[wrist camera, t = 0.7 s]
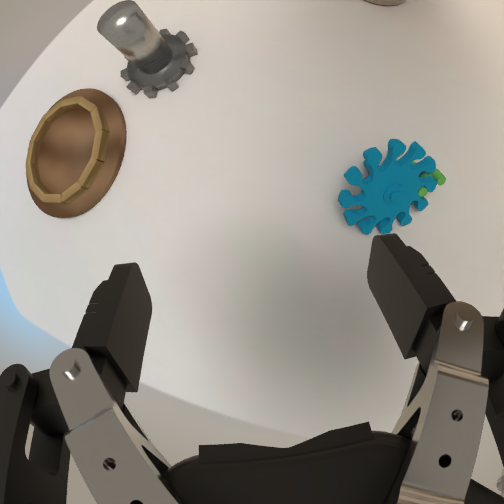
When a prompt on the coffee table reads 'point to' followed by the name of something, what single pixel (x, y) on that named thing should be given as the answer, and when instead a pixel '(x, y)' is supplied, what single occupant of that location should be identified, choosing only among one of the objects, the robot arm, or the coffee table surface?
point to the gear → (390, 186)
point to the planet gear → (146, 49)
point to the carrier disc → (75, 153)
